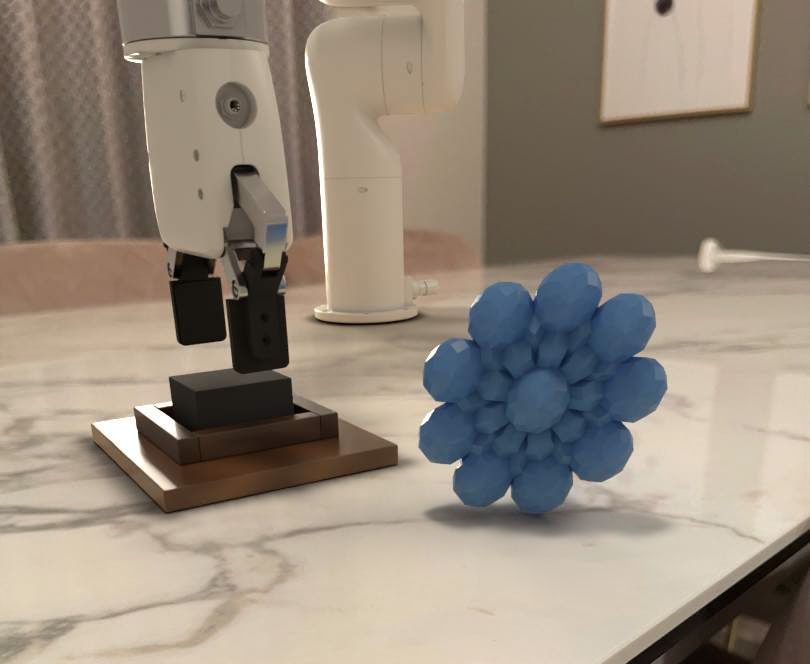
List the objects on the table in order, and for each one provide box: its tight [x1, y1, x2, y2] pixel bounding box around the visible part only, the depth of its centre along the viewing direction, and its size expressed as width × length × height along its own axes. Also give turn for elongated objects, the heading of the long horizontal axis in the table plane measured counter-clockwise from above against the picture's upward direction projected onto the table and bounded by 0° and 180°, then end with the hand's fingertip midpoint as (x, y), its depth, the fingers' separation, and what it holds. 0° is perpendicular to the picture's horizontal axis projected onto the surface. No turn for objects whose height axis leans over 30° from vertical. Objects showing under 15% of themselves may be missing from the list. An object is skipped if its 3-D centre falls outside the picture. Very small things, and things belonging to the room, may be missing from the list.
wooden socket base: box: [90, 392, 399, 513], centre depth 53 cm, size 14×16×3 cm
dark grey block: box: [168, 367, 294, 432], centre depth 52 cm, size 6×5×4 cm
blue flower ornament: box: [417, 262, 669, 515], centre depth 41 cm, size 12×7×12 cm, turn 82°
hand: (230, 355), depth 51 cm, fingers open, 9 cm apart
